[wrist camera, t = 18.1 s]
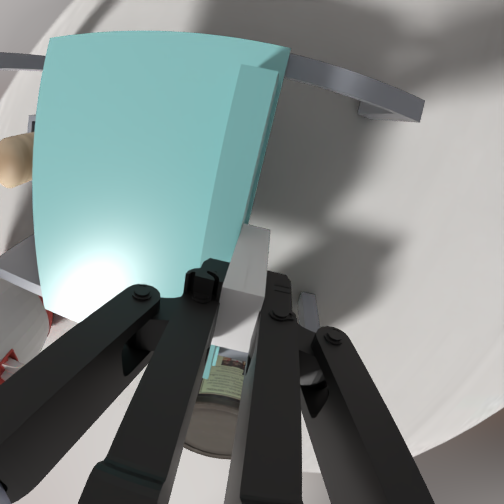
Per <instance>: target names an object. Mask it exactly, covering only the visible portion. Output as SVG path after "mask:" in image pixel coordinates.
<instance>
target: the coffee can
mask: <svg viewBox="0 0 504 504" xmlns="http://www.w3.org/2000/svg"><path fill="white" fill-rule="evenodd" d="M245 364H246V362H245V361H241V360H236V359H232V358H228V357H224V356H219V355H218V357H217V361H216V365H215V366H212V367H211V370H210V374H209V378H208V379H204V378H202V381H201V384H200V388H199V391H198V395H197V399H196V402H195V406H194V409H193V413H192V417H191V420H190V424H189V428H188V431H187V435H186V439H185V442H184V446H183V447H184V448H186V449H188V450H190V451H193V452H195V453H198V454H201V455H204V456H208V457H213V458H219V459H231V457H232V450H233V444H234V438H235V431H236V425H237V418H238V412H239V405H240V399H241V392H242V385H243V379H244V375H242V373H243V370H244V367H245Z"/></svg>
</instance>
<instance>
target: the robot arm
mask: <svg viewBox="0 0 504 504" xmlns="http://www.w3.org/2000/svg"><path fill="white" fill-rule="evenodd" d="M269 242H270V230H269V229H265V228H261V227H257V226H252V225H248V224H243V227H242V230H241V233H240V236H239V238H238V241H237V244H236V247H235V250H234V253H233V256H232V259H231V262H225V261H221V260H217V259H213V258H209V259H207V260H206V261H204V262H203V264H202V266H201V268H194V269H191V270H189V271H188V272H187V273H186V275H185V283H184V291H183V294H182V296H181V297H176V298H163V297H160V292H159V291H158V290H157V289H156V288H154V287H153V286H150V285H147V284H135V285H132V286H129V287H127V288H126V289H125V290H123V291H122V292H120V293H119V294H118V295H116V296H115V297H113V298H112V299H111V300H109V301H108V302H107V303H105V304H104V305H103V306H101V307H100V308H98V309H97V310H96V311H94V312H93V313H92V314H90V315H89V316H88V317H86V318H85V319H84V320H82V321H81V322H80V323H78V324H77V325H76V326H74V327H73V328H72V329H70V330H69V331H68V332H66V333H65V334H64V335H62V336H61V337H60V338H59V339H57V340H56V341H55V342H53V343H52V344H51V345H49V346H48V347H47V348H46V349H44V350H43V351H42V352H41V353H39V354H38V355H37V356H35V357H34V358H33V359H32V360H30V361H29V362H28V363H27V364H25V365H24V366H23V367H22V368H20V369H19V370H18V371H17V372H15V373H14V374H13V375H12V376H11V377H9V378H8V379H7V380H6V381H4V382H3V383H2V384H1V385H0V504H12V503H14V502H16V501H18V500H19V499H21V498H22V497H24V496H25V495H26V494H28V493H29V492H30V491H31V490H33V489H34V488H35V487H36V486H37V485H38V484H39V483H40V481H42V479H43V478H44V477H45V476H46V475H47V474H48V473H49V472H50V471H51V470H52V468H53V467H54V466H55V465H56V464H57V463H58V462H59V461H60V459H61V458H62V457H63V456H64V455H65V454H66V453H67V452H68V451H69V450H70V449H71V447H72V446H73V445H74V444H75V443H76V442H77V441H78V440H79V439H80V437H82V435H83V434H84V433H85V432H86V431H87V430H88V429H89V428H90V427H91V426H92V424H93V423H94V422H95V421H96V420H97V419H98V418H99V417H100V416H101V415H102V413H103V412H104V411H105V410H106V409H107V408H108V407H109V406H110V405H111V404H112V402H113V401H114V400H115V399H116V398H117V397H118V396H119V395H120V394H121V393H122V392H123V390H124V389H125V388H126V387H127V386H128V385H129V384H130V383H131V382H132V381H133V379H134V378H135V377H136V376H137V375H138V374H139V373H140V372H141V371H142V370H143V368H144V367H145V366H146V365H147V364H148V366H147V368H146V370H145V372H144V374H143V376H142V378H141V380H140V383H139V385H138V387H137V389H136V391H135V393H134V396H133V398H132V400H131V402H130V404H129V407H128V409H127V411H126V413H125V416H124V418H123V420H122V422H121V424H120V427H119V429H118V431H117V433H116V436H115V438H114V440H113V443H112V445H111V447H110V450H109V452H108V454H107V456H106V458H105V459H104V461H101V462H98V463H97V464H96V465H95V466H94V468H93V470H92V472H91V473H90V475H89V478H88V480H87V482H86V485H85V487H84V490H83V492H82V494H81V497H80V499H79V502H78V504H168V502H169V498H170V495H171V491H172V487H173V483H174V479H175V476H176V472H177V468H178V465H179V461H180V457H181V453H182V450H183V446H184V442H185V439H186V435H187V431H188V428H189V424H190V420H191V417H192V413H193V409H194V406H195V402H196V399H197V395H198V391H199V388H200V384H201V381H202V377H203V373H204V370H205V366H206V363H207V359H208V356H209V351H210V346H211V345H215V346H220V347H224V348H228V349H232V350H237V351H241V352H246V353H248V351H249V354H248V357H247V360H246V364H245V367H244V370H243V373H242V375H244V379H243V385H242V392H241V399H240V405H239V412H238V418H237V425H236V431H235V438H234V444H233V450H232V457H231V463H230V470H229V476H228V482H227V489H226V494H225V501H224V504H303V501H302V435H301V411H302V414H303V417H304V420H305V423H306V427H307V430H308V433H309V436H310V439H311V442H312V445H313V448H314V452H315V455H316V458H317V461H318V464H319V467H320V470H321V474H322V476H323V479H324V482H325V486H326V489H327V492H328V495H329V499H330V501H331V504H435V503H434V501H433V499H432V497H431V495H430V493H429V490H428V488H427V486H426V484H425V482H424V480H423V478H422V476H421V474H420V472H419V469H418V467H417V465H416V463H415V461H414V459H413V457H412V455H411V453H410V451H409V449H408V447H407V445H406V443H405V441H404V439H403V437H402V435H401V433H400V431H399V429H398V427H397V426H396V424H395V422H394V420H393V418H392V416H391V414H390V412H389V410H388V408H387V406H386V404H385V403H384V401H383V399H382V397H381V395H380V393H379V391H378V389H377V388H376V386H375V384H374V382H373V380H372V378H371V376H370V375H369V373H368V371H367V369H366V367H365V365H364V364H363V362H362V360H361V358H360V356H359V355H358V353H357V351H356V349H355V347H354V346H353V344H352V342H351V340H350V339H349V337H348V336H347V335H346V334H345V333H344V332H343V331H341V330H339V329H337V328H334V327H329V326H325V327H321V328H319V329H318V330H317V332H316V333H315V332H313V331H310V330H308V329H306V328H304V327H302V326H301V325H299V324H298V323H297V318H296V315H295V314H294V313H293V312H292V298H291V281H290V280H289V278H288V277H287V276H286V275H284V274H280V273H276V272H271V271H267V266H268V254H269Z"/></svg>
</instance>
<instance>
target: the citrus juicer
mask: <svg viewBox="0 0 504 504" xmlns="http://www.w3.org/2000/svg"><path fill="white" fill-rule="evenodd" d="M52 320H53V312H51V311H49V310H47V309H45V308H44V303H43V297H42V296H39V295H37V294H35V293H33V292H30V291H28V290H26V289H24V288H21V287H19V286H17V285H15V284H13V283H11V282H9V281H7V280H4V279H2V278H0V385H1V384H2V383H3V382H4V381H6V380H7V379H8V378H9V377H11V376H12V375H13V374H14V373H15V372H17V371H18V370H19V369H20V368H22V367H23V366H24V365H25V364H27V363H28V362H29V361H30V360H32V359H33V358H34V357H35V356H37V355H38V354H39V353H40V351H41V349H42V347H43V345H44V343H45V341H46V338H47V336H48V334H49V332H50V328H51V324H52Z"/></svg>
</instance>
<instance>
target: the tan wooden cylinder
mask: <svg viewBox="0 0 504 504" xmlns="http://www.w3.org/2000/svg"><path fill="white" fill-rule="evenodd" d="M33 145H34V132H31V133H26V134H21V135H16V136H11V137H7V138H4V139H2V140H1V141H0V183H1V184H2V185H3V186H4V187H6V188H14V187H16V186H18V185H21V184H23V183H26V182H28V181H31V180H32V168H33Z"/></svg>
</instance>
